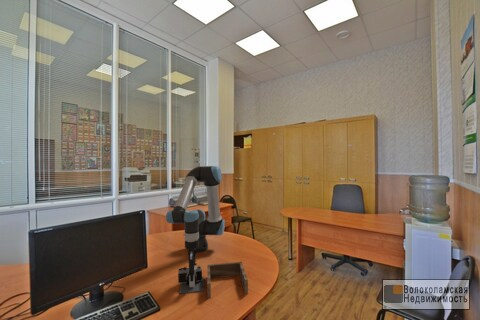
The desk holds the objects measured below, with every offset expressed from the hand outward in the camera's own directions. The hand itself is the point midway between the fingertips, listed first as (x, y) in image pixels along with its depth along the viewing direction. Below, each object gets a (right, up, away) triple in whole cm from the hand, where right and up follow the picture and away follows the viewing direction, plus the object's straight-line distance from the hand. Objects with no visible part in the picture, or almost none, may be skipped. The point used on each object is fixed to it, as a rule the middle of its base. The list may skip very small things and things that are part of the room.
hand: (192, 282), depth 117 cm
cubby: (+18, -1, 0) cm, 18 cm away
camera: (-1, 0, 0) cm, 1 cm away
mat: (0, -2, 0) cm, 2 cm away
